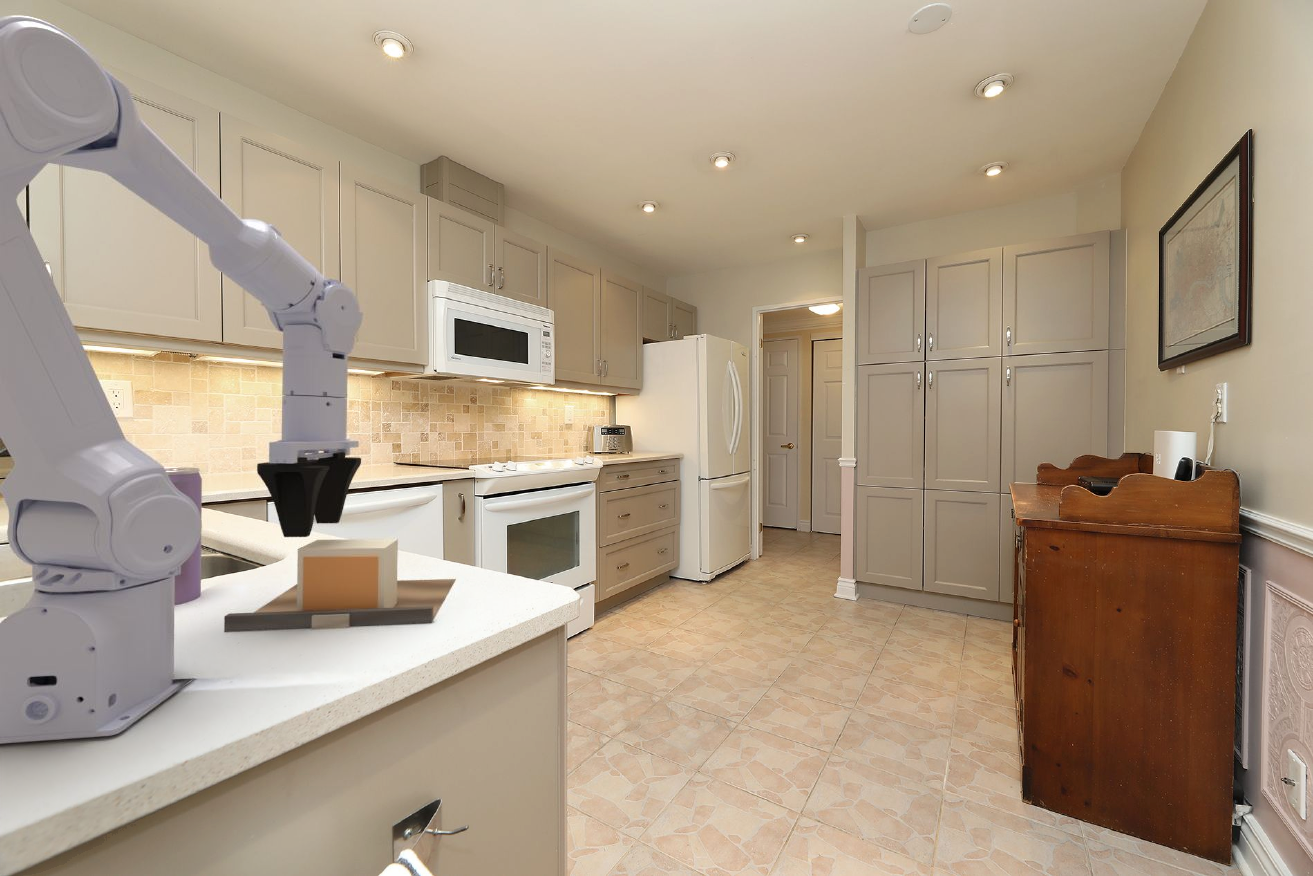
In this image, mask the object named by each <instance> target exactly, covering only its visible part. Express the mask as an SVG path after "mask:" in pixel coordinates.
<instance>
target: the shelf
mask: <svg viewBox="0 0 1313 876" xmlns="http://www.w3.org/2000/svg"><path fill="white" fill-rule="evenodd" d="M456 580H457V579H456V578H449V579H448V578H444V579H443V578H442V579H441V578H440V579H439V578H438V579H409V580H408V579H406V580H403V579H402V580H397V604H396V605H395V606H394V607H393V608H368V609H340V610H313V611H297V583H296V584H295V585H293V586H292V587H290V588H289V589H286V591H284V592H283V593H281V594H279V595H278V596H276V597H275V598H273V599H271V600H270V601H269V602H267V603H266V604H264V605H263V606H261V607H260V608H258V609H257V610H255V611H254V612H242V613H241V612H239V613H238V612H237V613H236V612H235V613H232V612H231V613H228V614H226V615H224V618H223V619H224V621H223V623H224V625H223V626H224V628H223V629H224V630H223V632H224V633H231V632H234V633H235V632H237V633H239V632H255V631H259V632H260V631H278V630H281V631H282V630H285V631H286V630H303V629H304V630H305V629H306V630H307V629H311V630H328V629H333V630H334V629H349V628H353V627H356V628H357V627H373V626H374V627H376V626H378V627H379V626H399V625H400V626H401V625H403V626H404V625H424V624H432V623H433V621H434V619H435V618H436V617H437V614H438V613H439V611H440V609H441V607H442V605H443V604H444V602H445V600H446V598H447V596H448V594H449V592H450V590H451V589H452V588H453V585H454V584H455V582H456Z"/></svg>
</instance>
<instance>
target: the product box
mask: <svg viewBox="0 0 1313 876" xmlns="http://www.w3.org/2000/svg"><path fill="white" fill-rule="evenodd" d="M398 543H399V539H398V538H394V539H393V538H386V539H385V538H383V539H381V538H378V539H377V538H376V539H375V538H374V539H372V538H370V539H368V538H367V539H366V538H365V539H360V538H359V539H357V538H356V539H355V538H354V539H352V538H351V539H316V540H313V541H311V542H310V543H307V544H305V545H303V546H301V547H299V548H297V564H296V565H297V572H296V573H297V576H296V578H297V583H296V584H297V611H313V610H340V609H368V608H393V607H394V606H395V605H396V604H397V581H398V559H399V558H398V554H399V553H398V551H399V547H398V545H399V544H398Z"/></svg>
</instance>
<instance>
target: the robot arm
mask: <svg viewBox="0 0 1313 876" xmlns="http://www.w3.org/2000/svg"><path fill="white" fill-rule="evenodd" d="M48 164H54V165H59V166H63V167H70V168H75V169H83V170H87V171H95V172H99V173H102V174H105V175H108V176H109V177H111V178H112V179H114V180H115V181H116V182H117V183H119V184H121V185H122V186H123V187H125V188H126V189H127V190H129V191H131V192H132V193H133V194H134V195H136V196H138V197H139V198H140V199H142V200H143V201H145V202H146V203H148V204H149V205H150V206H151V207H153V208H155V209H156V210H157V211H159V212H161V213H162V214H163V215H165V216H166V217H168V218H169V219H170V220H172V221H173V222H175V223H176V224H177V225H179V226H180V227H182V228H183V229H185V230H187V232H189V233H190V234H192V235H193V236H195V237H196V238H198V239H199V240H201V241H202V242H203V243H205V244H207V247H208V255H209V260H210V262H211V265H212V266H213V267H214V268H215V269H216V270H217V271H219V272H221V273H222V274H223V275H224V276H225V277H226V278H229V279H230V280H231V281H233V283H234V284H236V285H238V286H239V287H240V288H241V289H243V290H244V291H245V292H247V293H248V294H250V295H251V296H252V297H253V298H254V299H256V300H257V301H259V302H260V305H261V306H262V307H263V308H265V310H266V311H267V313H268V317H269V319H270V321H271V323H272V325H273V326H274V327H275V329H276V330H277V331H278V332H281V333H282V376H281V377H282V382H281V384H282V385H281V386H282V387H281V389H282V392H281V395H282V396H281V439H278V440H277V441H270V442H269V443H268V446H269V448H268V461H267V462H258V463H257V465H256V472H257V475H258V476H259V478H260V479H261V480H262V482H263V483H264V484H265V486H266V489H267V490H268V492H269V495H270V496H271V499H272V501H273V504H274V507H275V510H276V513H277V518H278V522H279V526H280V529H281V532H282V535H283V538H307V537H309V536H310V535H311V532H312V530H313V526H314V520H315V522H316V524H339V523H340V521H341V518H342V515H343V511H344V507H345V503H346V500H347V495H348V491H349V489H350V485H351V483H352V481H353V478H355V475H356V472H357V471H358V470H359V468H360V466H361V465H362V458H361V457H356V456H355V457H351V456H350V455H351V449H352V448H355V449H356V448H359V446H360V445H359V443H360V442H359V440H351V439H350V438H347V437H348V436H347V430H348V429H347V427H348V425H347V424H348V421H347V420H348V419H347V418H348V417H347V416H348V375H349V374H348V373H349V371H348V370H349V369H348V368H349V367H348V365H349V364H348V363H349V362H348V361H349V354H351V353H352V350H354V340H355V336H356V333H357V332H358V331H359V329H360V328H361V325H362V322H363V315H364V314H363V312H362V311H361V310H360V303H359V301H358V299H357V296H356V295H355V293H354V292H353V291H352V289H351V288H350V287H348V286H347V285H345V284H344V283H342V281H339V280H338V279H332V278H325V277H324V275H323V274H322V273H321V272H319V270H318V269H317V267H315V266H314V264H313V263H311V262H309V261H308V260H307V259H305V258H304V257H303V256H302V255H301V254H300V253H299V252H297V251H296V250H295V249H294V248H293V247H292V246H291V245H290V244H289V243H288V242H287V241H286V240H284V238H282V237H281V235H282V232H281V231H280V230H279V229H278V228H277V227H275V225H273V224H271V223H269V224H268V223H266V222H265V221H262V220H261V219H260V220H259V219H255V218H254V219H253V218H241V217H240V216H239V215H238V214H236V212H235V211H234V210H233V209H231V207H229V206H228V204H226V203H225V201H223V200H222V198H220V197H219V196H218V195H217V194H216V193H215V191H214V190H212V188H210V186H209V185H207V184H206V182H205V181H203V179H201V177H200V176H199V175H198V174H196V173H195V172H194V171H193V170H192V169H191V168H190V166H189V165H187V164H186V162H184V161H183V160H182V159H181V158H180V156H178V155H177V153H175V152H174V151H173V150H172V149H171V148H170V146H168V145H167V144H166V143H165V142H164V140H162V139H161V138H160V136H159V135H158V134H156V132H154V131H153V130H152V129H151V128H150V127H149V126H148V125H147V124H146V123H145V122H144V120H143V119H142V118H141V116H140V114H139V111H138V109H137V106H136V104H135V100H134V99H133V96H132V94H131V91H130V88H129V87H127V85H125V84H124V83H123V81H121V80H120V79H118V77H117V78H116V76H114V75H113V74H111V73H110V72H109V71H108V70H105V69H104V68H103V67H102V65H101V64H100V63H99V61H98V60H97V59H96V58H95V56H94V55H93V54H92V53H91V52H90V51H89V50H88V49H87V48H86V47H85V46H84V45H83V44H82V43H81V42H79V41H78V40H77V39H76V38H74V37H73V36H72V35H71V34H69V33H67V32H66V31H64V30H63V29H61V28H59V27H57V26H55V25H53V23H49V22H48V21H45V20H42V19H39V18H35V17H32V16H28V15H26V16H25V15H19V14H17V15H15V14H14V15H13V14H12V15H6V16H2V17H0V439H1V441H2V443H3V444H4V447H5V448H6V450H7V451H8V454H9V455H10V457H11V460H12V461H13V462H14V466H13V467H12V469H11V470H10V472H9V473H8V474H7V476H6V477H5V478H4V480H3V481H2V483H1V484H0V494H1V495H2V498H3V499H4V502H5V503H6V506H7V509H8V523H7V530H6V531H7V541H8V544H9V547H10V548H11V550H12V552H13V553H14V555H16V557H18V558H19V559H20V560H21V561H23V562H24V563H26V564H27V565H30V566H32V567H31V568H32V570H31V571H32V575H31V576H32V579H31V580H32V582H34V590H33V593H32V595H31V597H30V599H29V600H28V602H26V604H25V605H24V606H23V607H22V608H20V609H18V610H16V611H14V612H13V613H11V614H10V615H8V616H6V617H5V618H4V619H3V620H1V622H0V745H1V744H13V743H15V744H16V743H28V742H41V741H54V740H55V741H57V740H69V739H85V738H95V737H96V738H97V737H99V738H100V737H109V736H114V735H117V734H120V733H121V732H123V731H124V730H125V729H127V728H128V727H130V726H132V725H133V724H134V723H135V722H137V721H138V720H139V719H141V718H142V717H143V716H145V715H146V714H148V713H149V712H151V710H153V709H154V708H156V707H157V706H159V705H160V704H162V703H163V702H164V701H165V700H167V699H168V698H169V697H171V696H172V695H173V694H175V693H177V692H178V691H179V690H180V689H182V688H183V687H185V686H186V685H187V684H189V683H190V682H191V681H193V680H195V678H193V677H192V678H191V677H190V678H188V677H187V678H174V677H175V605H174V594H175V576H176V575H179V574H181V565H182V564H183V563H184V562H185V561H186V560H187V559H188V558H189V557H190V556H191V554H192V553H193V551H194V550H195V548H196V546H197V544H198V542H199V539H200V536H201V537H202V528H203V526H202V525H203V524H202V515H201V516H200V512H199V510H198V508H197V506H196V505H195V503H194V502H193V501H192V500H191V499H190V498H189V497H188V496H186V495H185V494H183V493H182V492H180V491H179V490H178V489H177V488H176V487H175V486H174V485H173V483H172V482H171V480H170V478H169V477H168V474H167V472H166V470H165V468H164V467H165V466H163V465H162V464H161V463H159V462H158V461H157V460H156V459H154V458H153V457H151V456H150V455H148V454H147V453H145V452H144V451H142V450H141V449H140V448H138V447H137V446H135V445H134V444H133V443H131V441H129V440H127V438H126V437H125V434H124V432H123V430H122V428H121V426H120V424H119V422H118V419H117V417H116V415H115V413H114V411H113V409H112V406H111V404H110V402H109V400H108V397H107V395H106V394H105V391H104V388H103V387H102V384H101V382H100V381H99V379H98V376H97V374H96V371H95V370H94V368H93V365H92V363H91V361H90V358H89V356H88V355H87V353H86V351H85V348H84V345H83V344H82V341H81V340H80V337H79V334H78V333H77V331H76V328H75V326H74V324H73V322H72V320H71V318H70V315H69V313H68V311H67V308H66V307H65V305H64V303H63V301H62V298H61V296H60V293H59V292H58V289H57V287H56V285H55V283H54V280H53V278H52V276H51V274H50V272H49V270H48V267H47V266H46V263H45V261H44V258H43V257H42V255H41V252H40V250H39V248H38V246H37V244H36V242H35V239H34V238H33V236H32V232H31V231H30V229H29V227H28V224H27V223H26V220H25V217H24V216H23V214H22V212H21V209H20V206H19V205H18V202H17V199H18V196H19V195H20V193H22V192H23V190H25V188H26V187H27V186H28V185H29V184H30V183H31V182H32V181H33V180H34V179H35V178H36V177H37V175H39V173H41V171H42V170H43V169H45V167H46V166H47V165H48ZM347 456H349V457H347Z"/></svg>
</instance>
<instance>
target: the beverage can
mask: <svg viewBox="0 0 1313 876" xmlns="http://www.w3.org/2000/svg"><path fill="white" fill-rule="evenodd" d="M163 467H164V468H165V470H166V472H167V474H168V477H169V478H170V480H171V482H172V483H173V485H174V486H175V487H176V488H177V489H178V490H179V491H180V492H182V493H183V494H185V495H186V496H188V497H189V498H190V499H191V500H192V501H193V502H194V503H195V505H196V506H197V508H198V510H199V512H200V516H201V517H202V507H203V505H202V497H203V495H202V494H203V493H202V491H203V490H202V489H203V484H202V483H203V478H202V476H201V474H200V471H201V469H200V468H199V467H187V466H184V467H183V466H182V467H181V466H180V467H179V466H178V467H177V466H168V467H165V466H163ZM201 581H202V535H201V536H200V539H199V542H198V544H197V546H196V548H195V550H194V551H193V553H192V554H191V556H190V557H189V558H188V559H187V560H186V561H185V562H184V563H183V564H182V565H181V574H179V575H176V576H175V594H174V606H178V605H182V604H186V603H189V602H192V601H196V600H197V599H198V598H201V597H202V594H201V593H202V592H201V591H202V582H201Z"/></svg>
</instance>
